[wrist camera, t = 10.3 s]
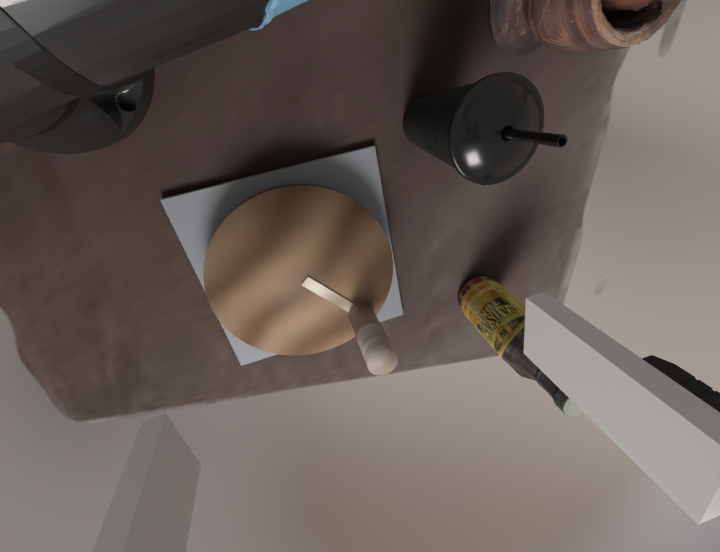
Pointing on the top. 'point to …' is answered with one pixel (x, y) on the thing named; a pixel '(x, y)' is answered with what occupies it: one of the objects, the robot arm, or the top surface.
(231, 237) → the handwheel
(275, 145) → the top surface
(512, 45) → the mortar and pestle
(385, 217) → the wheel stand
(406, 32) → the top surface
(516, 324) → the sauce bottle
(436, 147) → the drinking cup
